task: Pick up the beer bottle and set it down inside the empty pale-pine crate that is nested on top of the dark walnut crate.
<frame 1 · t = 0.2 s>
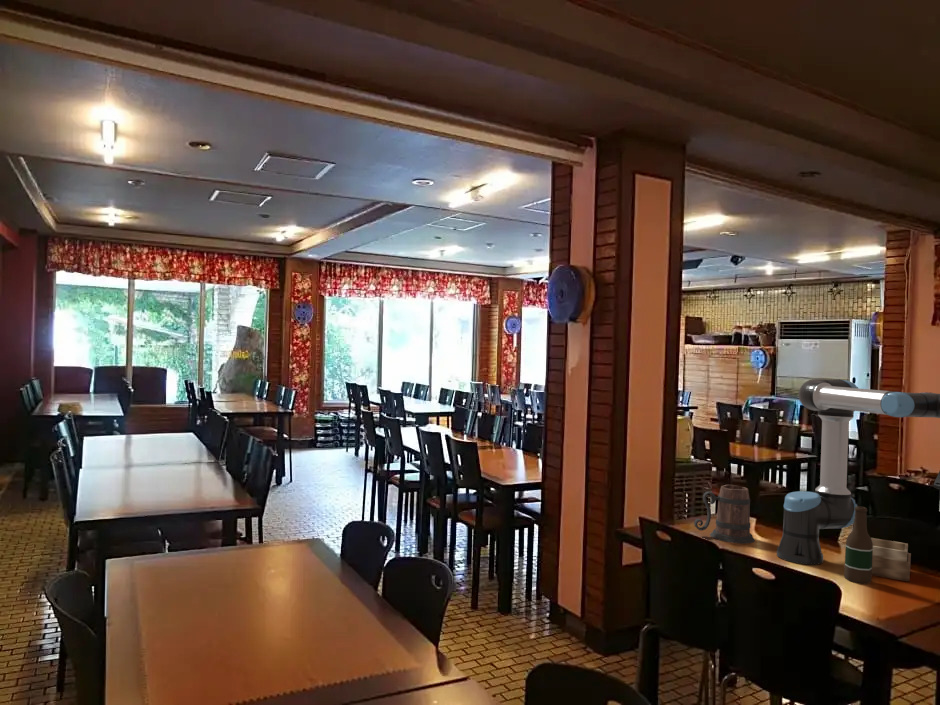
beer bottle: (857, 581, 228), on the table
tankard: (723, 537, 276), on the table
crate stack: (883, 571, 239), on the table
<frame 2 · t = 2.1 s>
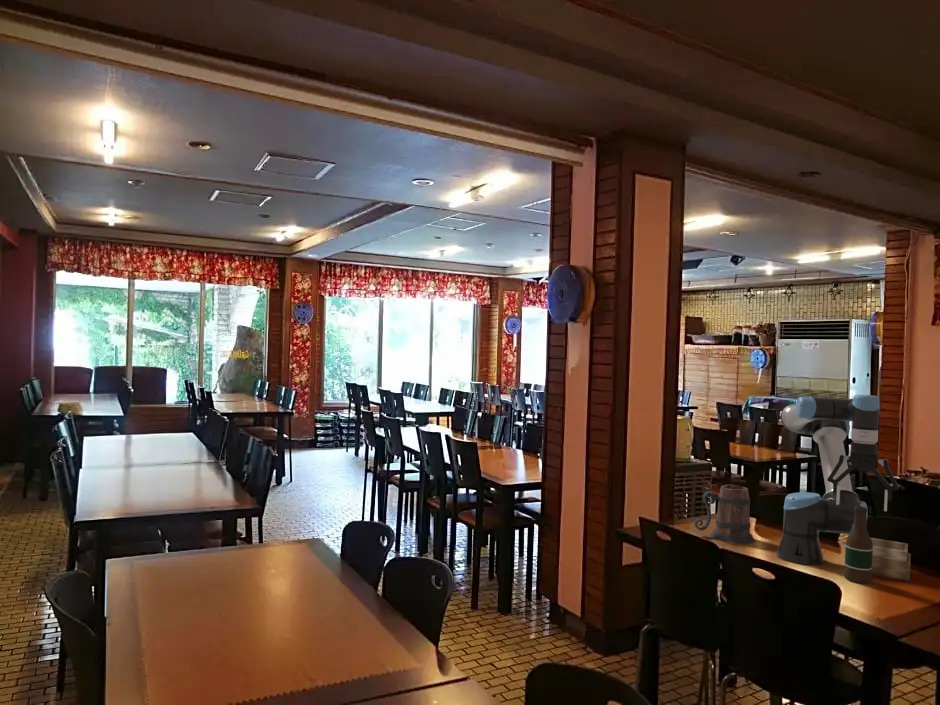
hand: (861, 507, 227), 24 cm above the table, fingers open, 13 cm apart
nothing on the table moved.
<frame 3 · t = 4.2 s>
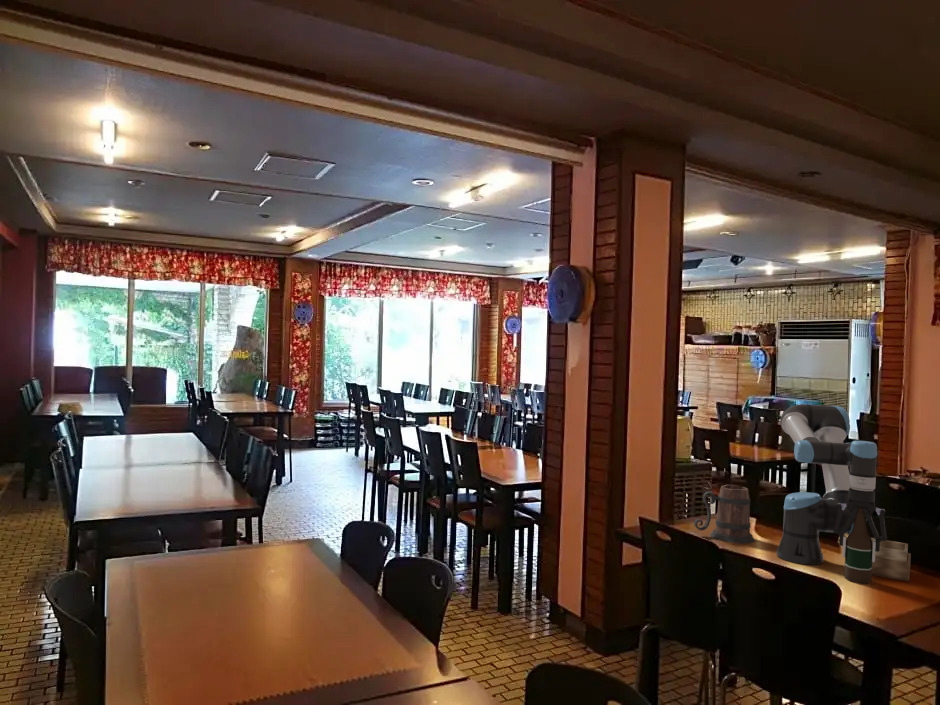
hand: (858, 558, 228), 7 cm above the table, fingers closed on beer bottle, 8 cm apart
beer bottle: (857, 580, 228), on the table, touching gripper
everything else where it was.
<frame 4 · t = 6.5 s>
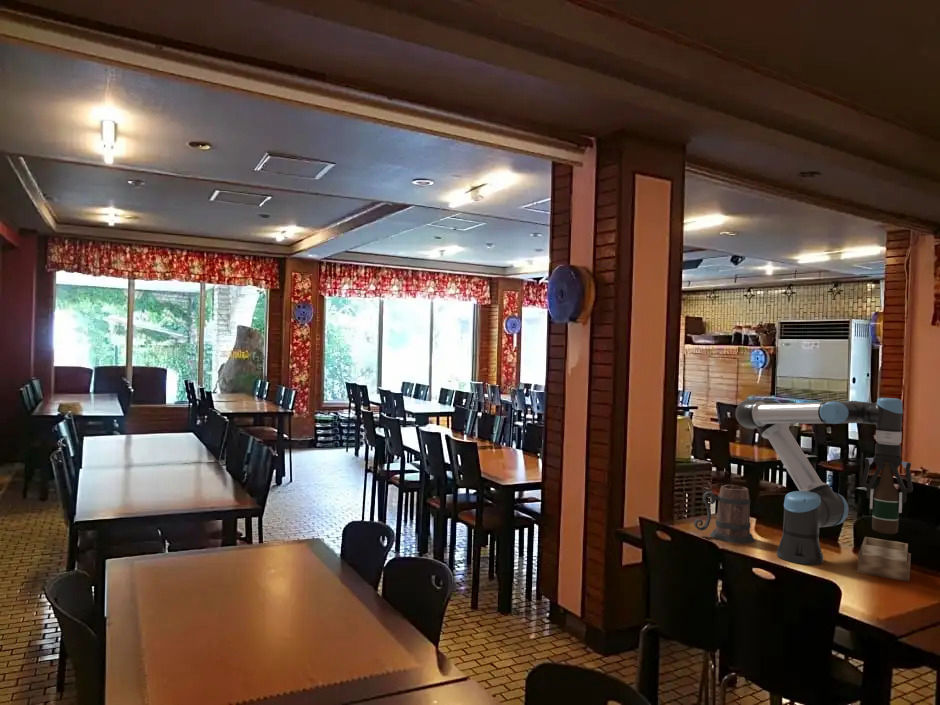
hand: (885, 510, 238), 21 cm above the table, fingers closed on beer bottle, 8 cm apart
beer bottle: (884, 531, 238), point 14 cm above the table, touching gripper
everything else where it was.
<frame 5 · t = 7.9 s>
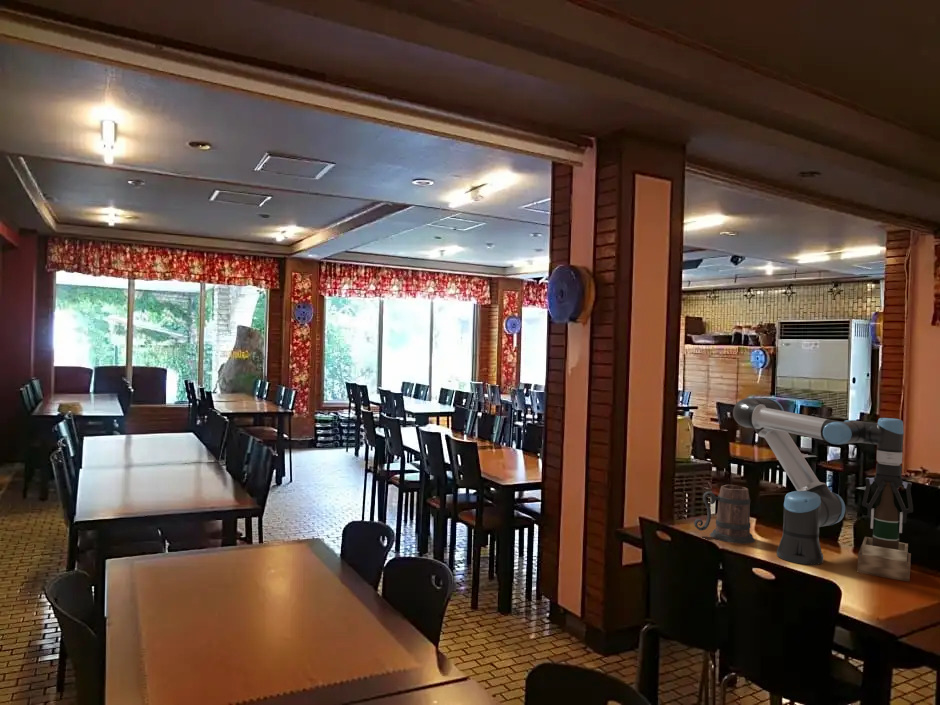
hand: (886, 529, 239), 14 cm above the table, fingers closed on beer bottle, 8 cm apart
beer bottle: (885, 551, 239), point 7 cm above the table, touching gripper
everything else where it was.
when the fingers open (12 cm above the table, at t = 8.8 s): beer bottle drops 1 cm, resting on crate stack.
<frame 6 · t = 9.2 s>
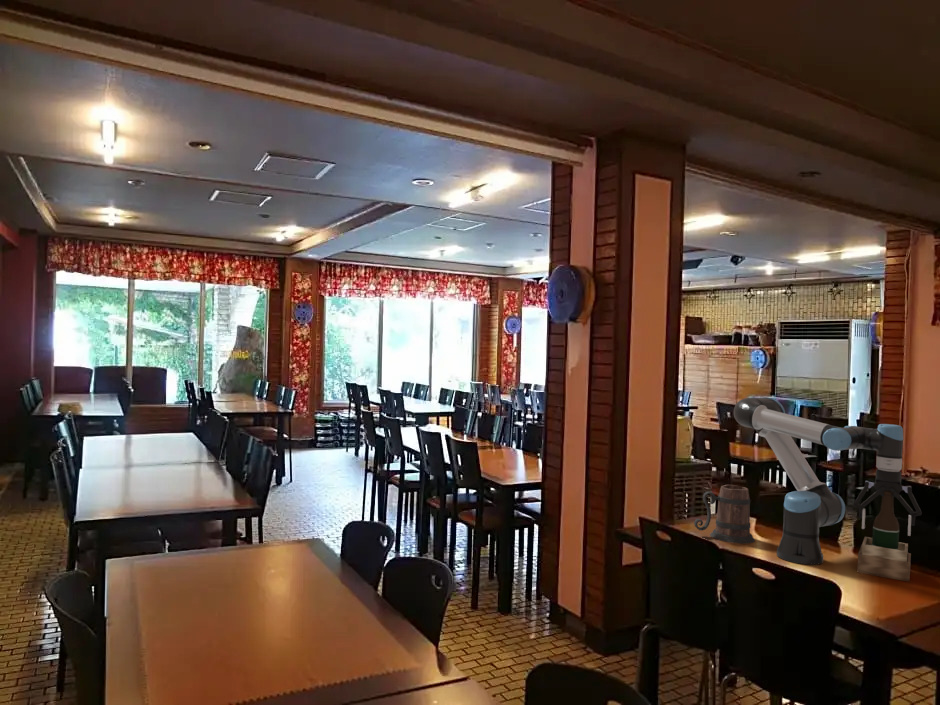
hand: (885, 531, 239), 14 cm above the table, fingers open, 13 cm apart
beer bottle: (884, 560, 239), point 4 cm above the table, touching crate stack
everything else where it was.
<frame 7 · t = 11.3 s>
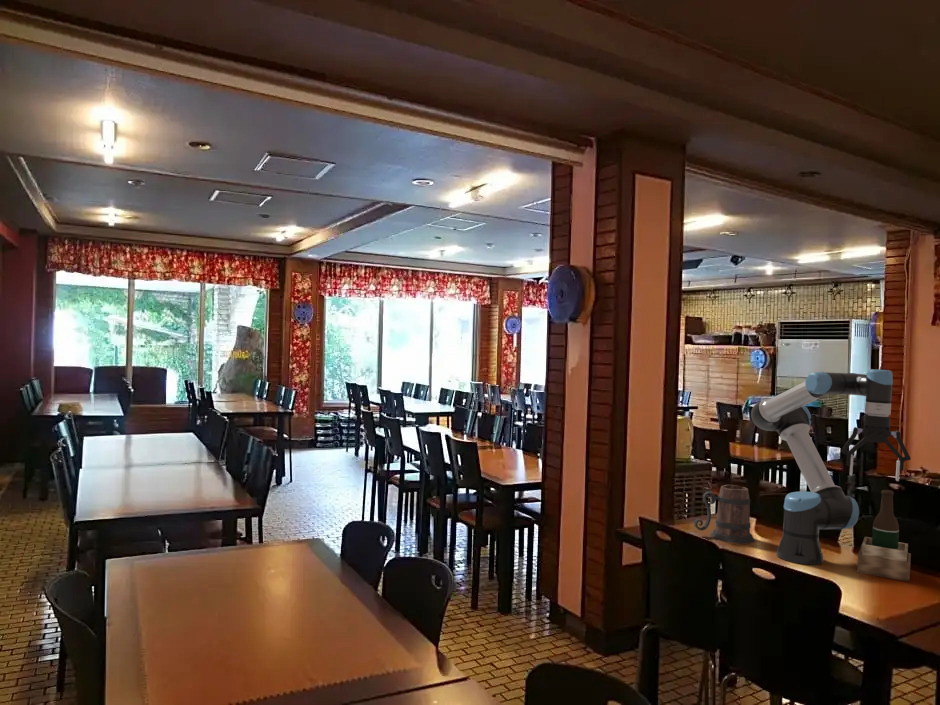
hand: (873, 477, 236), 32 cm above the table, fingers open, 13 cm apart
nothing on the table moved.
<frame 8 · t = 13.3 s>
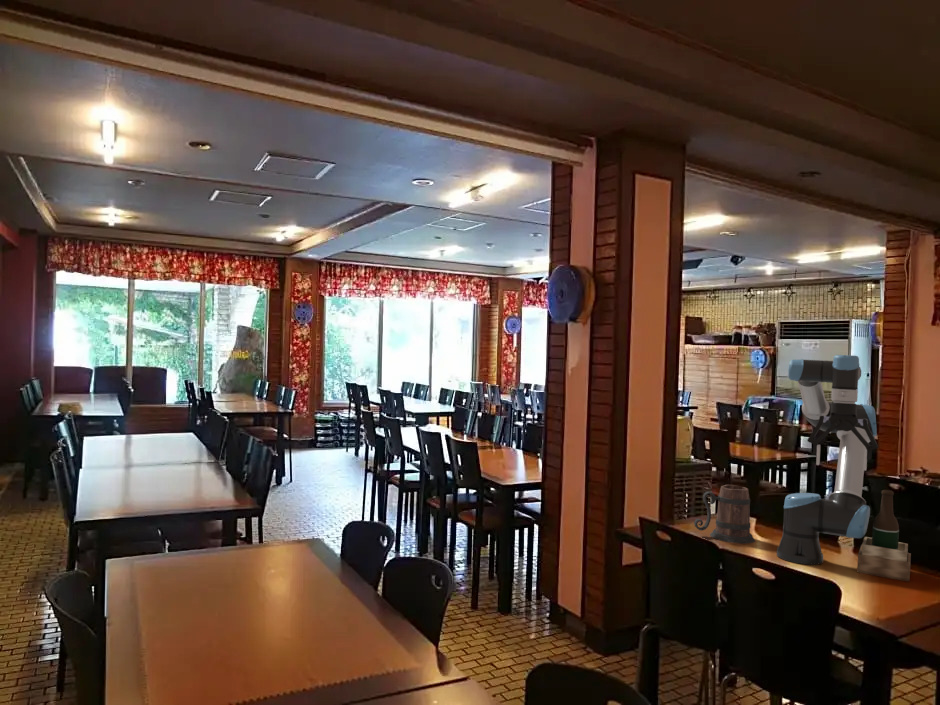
hand: (841, 467, 227), 37 cm above the table, fingers open, 13 cm apart
nothing on the table moved.
at the end: beer bottle 0.0 cm from the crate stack (horizontally); beer bottle point 3.6 cm above the table; beer bottle tilted 0° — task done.
